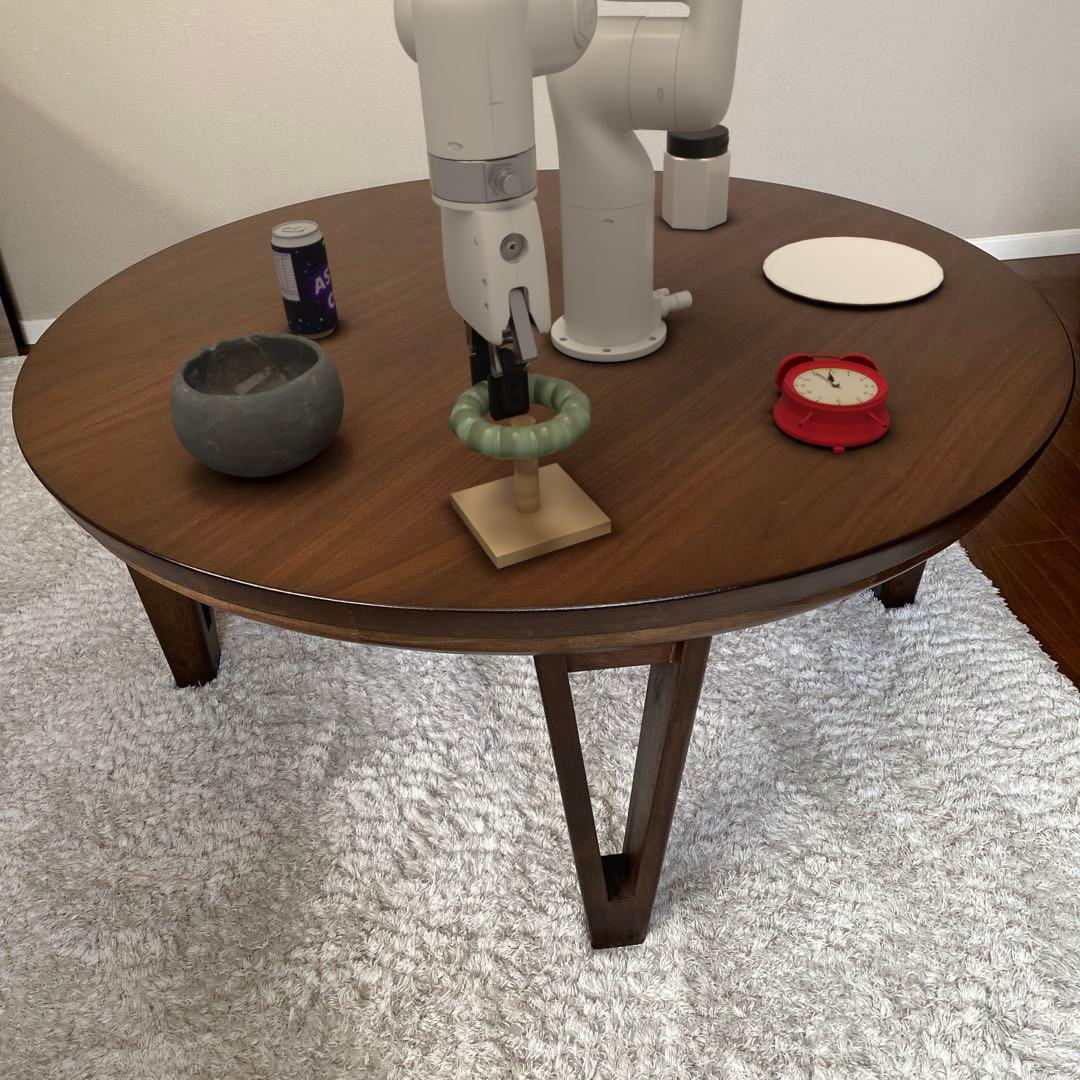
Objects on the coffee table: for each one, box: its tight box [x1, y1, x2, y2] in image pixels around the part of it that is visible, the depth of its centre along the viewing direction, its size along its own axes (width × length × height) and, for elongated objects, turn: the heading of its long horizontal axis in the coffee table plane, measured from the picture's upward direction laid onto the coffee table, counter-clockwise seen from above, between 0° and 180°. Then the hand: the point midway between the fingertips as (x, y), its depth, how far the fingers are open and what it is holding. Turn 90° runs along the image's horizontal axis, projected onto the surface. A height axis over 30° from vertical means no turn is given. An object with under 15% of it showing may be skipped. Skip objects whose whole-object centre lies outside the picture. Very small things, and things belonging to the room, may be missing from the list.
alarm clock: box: [772, 352, 891, 454], centre depth 93 cm, size 10×6×15 cm
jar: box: [661, 123, 732, 231], centre depth 135 cm, size 9×8×12 cm
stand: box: [449, 415, 612, 570], centre depth 80 cm, size 10×10×9 cm
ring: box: [448, 373, 592, 460], centre depth 77 cm, size 11×11×2 cm
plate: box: [762, 236, 945, 307], centre depth 120 cm, size 21×21×1 cm
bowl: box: [169, 332, 345, 478], centre depth 89 cm, size 15×15×10 cm
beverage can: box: [270, 219, 340, 340], centre depth 111 cm, size 6×6×12 cm
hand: (501, 404), depth 81 cm, fingers closed on ring, 2 cm apart
